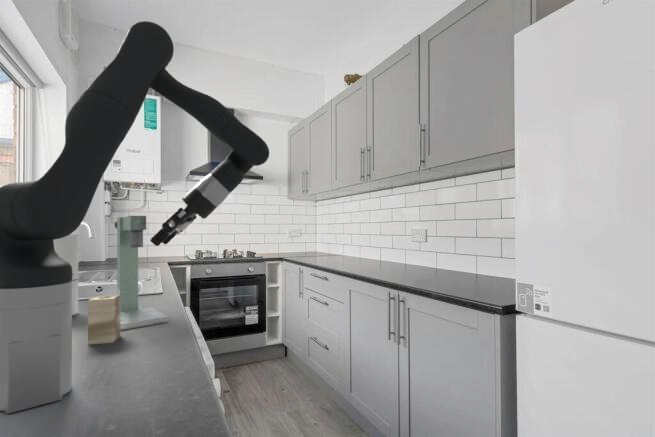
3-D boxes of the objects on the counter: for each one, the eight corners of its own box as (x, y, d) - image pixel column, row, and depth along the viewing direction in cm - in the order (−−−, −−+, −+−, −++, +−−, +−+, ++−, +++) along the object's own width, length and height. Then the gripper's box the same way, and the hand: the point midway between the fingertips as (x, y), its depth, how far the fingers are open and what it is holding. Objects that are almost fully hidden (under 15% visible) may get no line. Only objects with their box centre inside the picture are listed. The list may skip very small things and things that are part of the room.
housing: (112, 342, 80) (112, 298, 80) (88, 344, 78) (88, 299, 79) (120, 336, 84) (120, 294, 85) (97, 338, 83) (97, 295, 84)
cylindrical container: (44, 316, 107) (45, 235, 108) (70, 311, 113) (71, 234, 114) (56, 318, 104) (57, 235, 104) (82, 313, 110) (83, 234, 111)
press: (167, 321, 97) (167, 215, 98) (118, 330, 89) (118, 214, 90) (138, 304, 122) (138, 219, 123) (98, 310, 114) (98, 219, 115)
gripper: (199, 188, 94) (153, 231, 91) (191, 181, 80) (137, 232, 77) (219, 208, 95) (175, 251, 92) (215, 204, 81) (163, 255, 79)
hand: (158, 242), depth 85 cm, fingers open, 8 cm apart
